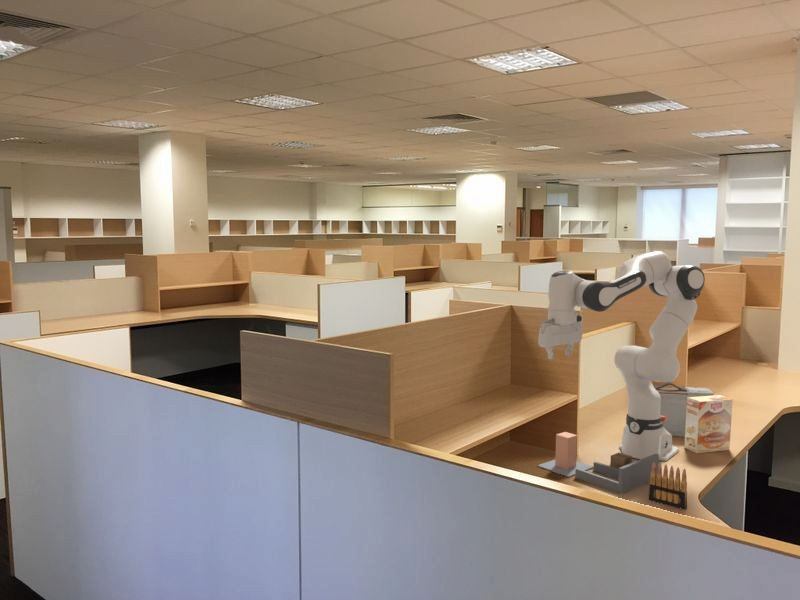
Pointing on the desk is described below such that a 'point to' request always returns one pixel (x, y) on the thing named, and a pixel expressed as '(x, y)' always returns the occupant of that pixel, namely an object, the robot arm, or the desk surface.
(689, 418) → the coffeecake box
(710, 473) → the desk surface
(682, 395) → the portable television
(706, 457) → the desk surface
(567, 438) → the terracotta block
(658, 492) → the ammunition clip
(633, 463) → the lane rack
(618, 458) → the walnut block
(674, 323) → the robot arm
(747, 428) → the desk surface
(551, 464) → the slate mat
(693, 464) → the desk surface
